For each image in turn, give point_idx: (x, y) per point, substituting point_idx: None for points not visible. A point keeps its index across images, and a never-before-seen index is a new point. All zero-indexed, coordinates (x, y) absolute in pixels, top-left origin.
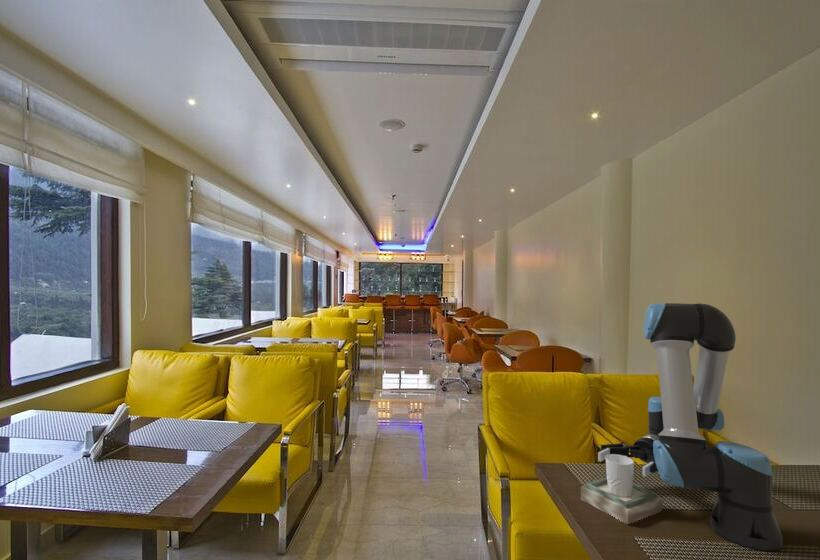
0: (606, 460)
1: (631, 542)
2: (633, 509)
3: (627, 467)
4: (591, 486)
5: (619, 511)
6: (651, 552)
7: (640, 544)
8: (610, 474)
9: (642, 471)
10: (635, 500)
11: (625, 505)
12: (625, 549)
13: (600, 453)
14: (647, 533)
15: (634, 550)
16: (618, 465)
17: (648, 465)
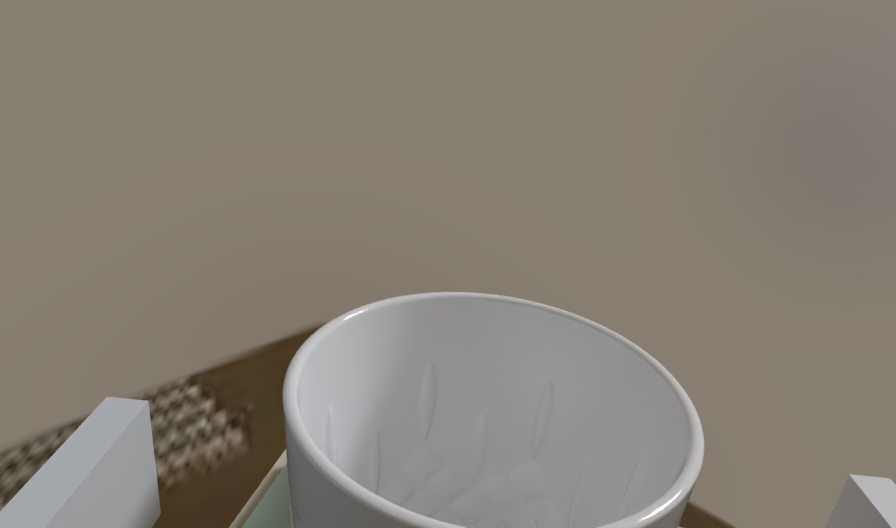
0: (593, 340)
1: (252, 403)
2: (260, 488)
3: (341, 345)
4: None
5: None
6: (162, 390)
7: (211, 410)
8: (509, 437)
9: (154, 461)
10: (250, 522)
11: None
12: (269, 359)
13: (853, 484)
14: (171, 509)
15: (235, 370)
16: (430, 310)
17: (12, 506)
